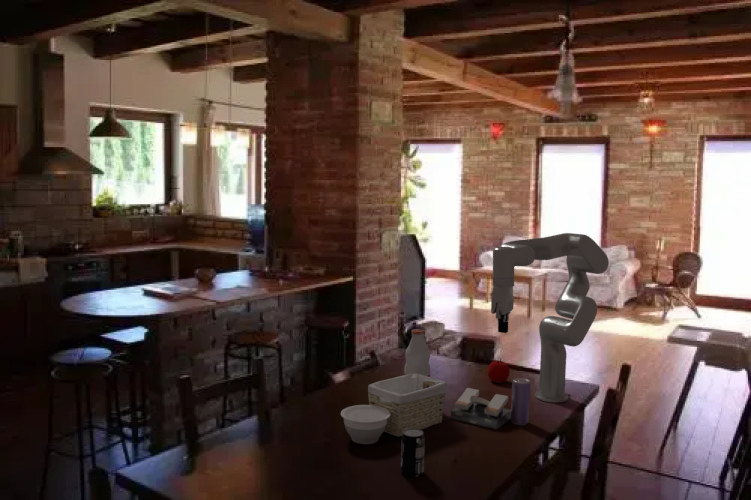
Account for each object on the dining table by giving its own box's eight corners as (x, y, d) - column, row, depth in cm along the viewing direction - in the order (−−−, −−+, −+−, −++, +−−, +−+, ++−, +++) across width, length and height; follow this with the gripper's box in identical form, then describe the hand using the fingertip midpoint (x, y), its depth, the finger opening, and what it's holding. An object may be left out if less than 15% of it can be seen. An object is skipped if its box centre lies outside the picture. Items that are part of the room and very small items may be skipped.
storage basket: (414, 411, 246) (415, 371, 244) (448, 423, 234) (449, 381, 233) (364, 426, 230) (365, 384, 228) (398, 441, 218) (399, 396, 216)
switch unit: (467, 408, 249) (467, 396, 249) (511, 418, 240) (511, 405, 240) (450, 418, 238) (450, 406, 238) (495, 429, 229) (496, 416, 229)
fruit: (511, 385, 278) (512, 361, 277) (488, 384, 278) (489, 360, 277) (507, 378, 287) (508, 355, 286) (485, 378, 287) (486, 354, 286)
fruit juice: (422, 399, 259) (424, 326, 255) (433, 407, 250) (435, 332, 247) (399, 402, 255) (401, 328, 252) (410, 410, 246) (412, 334, 243)
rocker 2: (480, 405, 244) (481, 400, 244) (492, 407, 241) (493, 402, 242) (469, 400, 236) (471, 395, 236) (481, 403, 233) (483, 397, 234)
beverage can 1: (399, 468, 198) (400, 427, 196) (421, 467, 198) (423, 427, 197) (402, 478, 191) (403, 436, 190) (425, 477, 192) (426, 436, 190)
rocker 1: (467, 391, 247) (467, 387, 246) (479, 393, 244) (478, 389, 244) (455, 407, 239) (455, 403, 239) (467, 410, 237) (466, 405, 236)
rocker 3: (496, 397, 241) (495, 393, 240) (508, 400, 239) (507, 395, 238) (484, 413, 233) (484, 409, 233) (496, 416, 231) (496, 412, 230)
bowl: (396, 433, 224) (396, 408, 223) (381, 451, 209) (381, 424, 208) (350, 426, 229) (351, 402, 228) (332, 444, 214) (332, 417, 213)
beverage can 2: (528, 426, 232) (530, 383, 231) (510, 424, 234) (512, 382, 232) (528, 420, 238) (530, 378, 237) (510, 418, 239) (512, 377, 238)
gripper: (501, 277, 250) (501, 326, 253) (484, 284, 238) (484, 335, 240) (521, 279, 246) (520, 328, 249) (505, 286, 234) (504, 338, 236)
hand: (503, 332), depth 244 cm, fingers closed
